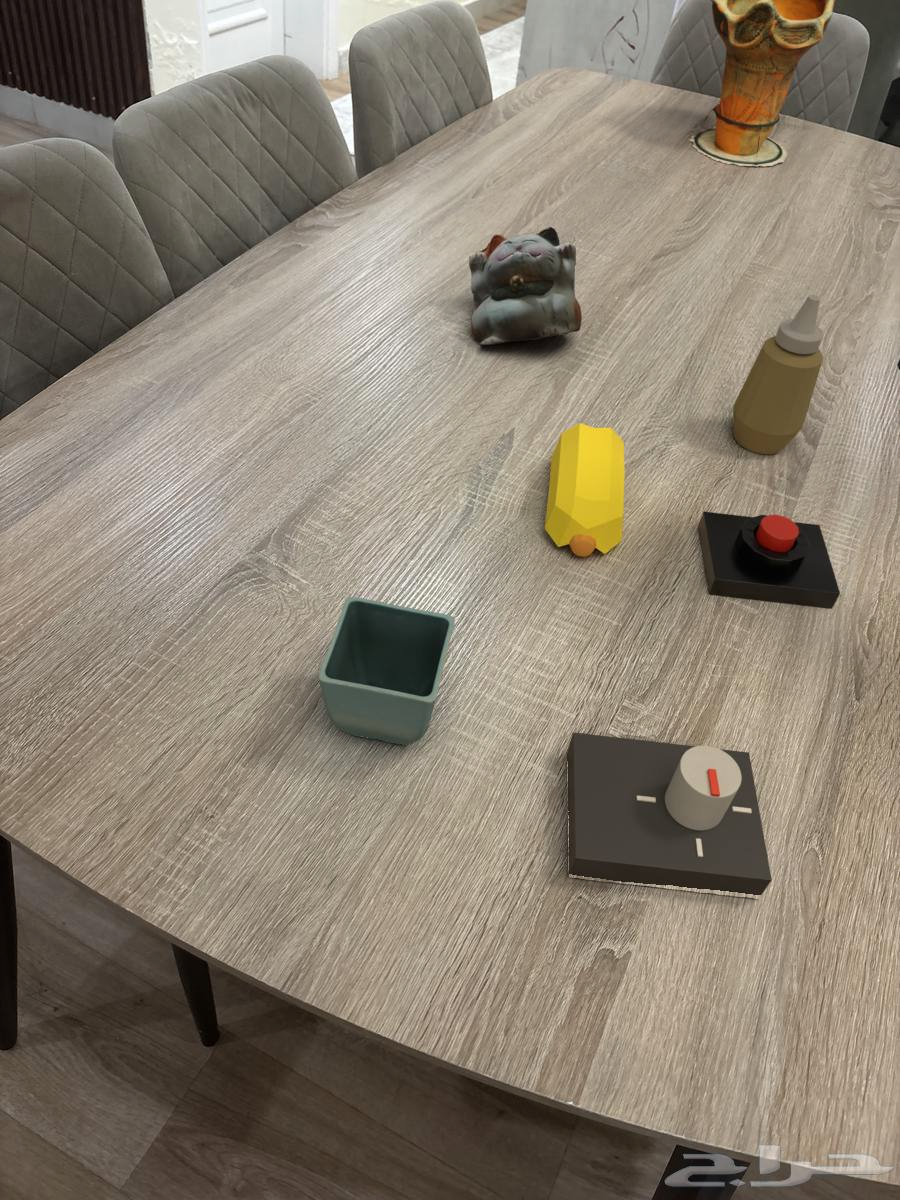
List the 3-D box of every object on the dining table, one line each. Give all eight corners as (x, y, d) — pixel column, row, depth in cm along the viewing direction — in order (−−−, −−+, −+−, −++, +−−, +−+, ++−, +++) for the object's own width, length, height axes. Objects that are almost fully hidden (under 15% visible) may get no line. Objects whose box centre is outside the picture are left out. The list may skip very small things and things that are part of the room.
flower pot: (427, 772, 74) (435, 701, 67) (317, 750, 74) (315, 678, 68) (446, 687, 80) (456, 615, 73) (345, 667, 80) (346, 594, 74)
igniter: (811, 540, 98) (826, 511, 95) (831, 609, 91) (847, 579, 88) (697, 527, 97) (708, 497, 95) (708, 595, 90) (720, 565, 88)
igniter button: (789, 530, 93) (795, 516, 91) (795, 554, 90) (802, 541, 89) (753, 525, 93) (758, 512, 91) (758, 550, 90) (764, 536, 89)
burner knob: (661, 776, 72) (678, 739, 68) (719, 782, 72) (737, 745, 68) (667, 827, 68) (685, 791, 65) (727, 833, 69) (747, 798, 65)
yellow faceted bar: (540, 559, 92) (618, 571, 92) (551, 507, 87) (633, 520, 87) (551, 451, 105) (619, 461, 104) (561, 400, 100) (633, 411, 99)
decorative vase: (653, 142, 174) (693, -35, 154) (725, 120, 186) (771, -47, 166) (745, 182, 164) (801, -2, 144) (815, 156, 176) (876, -17, 156)
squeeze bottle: (712, 442, 108) (763, 298, 96) (739, 412, 113) (790, 271, 100) (778, 471, 106) (839, 326, 93) (803, 438, 110) (864, 297, 98)
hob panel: (737, 773, 76) (750, 750, 74) (758, 900, 68) (772, 879, 66) (566, 753, 76) (573, 730, 74) (567, 878, 68) (575, 856, 66)
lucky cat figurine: (453, 348, 118) (448, 229, 114) (485, 342, 128) (481, 234, 124) (570, 344, 112) (569, 219, 108) (593, 339, 123) (593, 225, 119)
